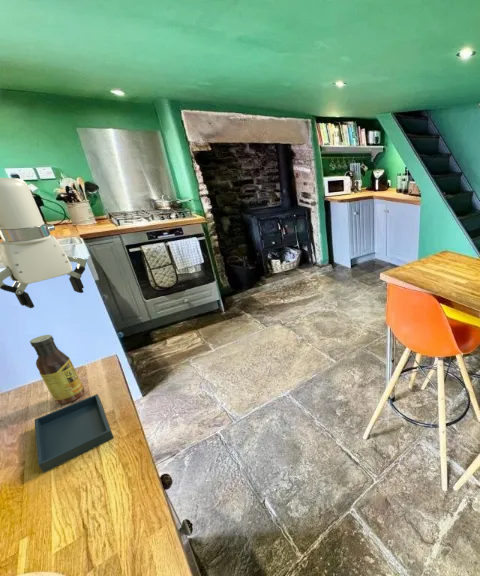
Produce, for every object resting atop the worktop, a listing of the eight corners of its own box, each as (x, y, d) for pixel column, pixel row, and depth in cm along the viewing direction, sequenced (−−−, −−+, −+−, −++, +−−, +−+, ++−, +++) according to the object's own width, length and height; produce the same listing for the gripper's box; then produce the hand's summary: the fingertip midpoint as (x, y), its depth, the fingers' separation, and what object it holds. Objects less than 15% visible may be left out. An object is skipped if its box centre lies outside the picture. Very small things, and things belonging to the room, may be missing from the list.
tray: (38, 426, 77) (34, 419, 76) (100, 400, 86) (97, 393, 85) (43, 472, 67) (38, 465, 66) (113, 437, 75) (110, 430, 74)
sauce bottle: (83, 399, 86) (53, 341, 78) (53, 408, 83) (18, 349, 75) (87, 385, 91) (60, 330, 83) (59, 394, 88) (27, 336, 79)
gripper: (64, 225, 79) (88, 284, 86) (-40, 240, 65) (-1, 310, 72) (80, 228, 77) (103, 289, 84) (-25, 244, 62) (14, 317, 69)
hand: (55, 298), depth 78 cm, fingers open, 9 cm apart
